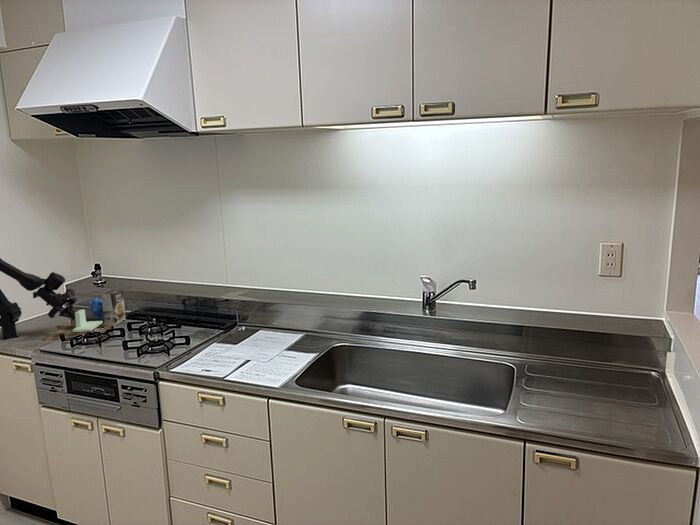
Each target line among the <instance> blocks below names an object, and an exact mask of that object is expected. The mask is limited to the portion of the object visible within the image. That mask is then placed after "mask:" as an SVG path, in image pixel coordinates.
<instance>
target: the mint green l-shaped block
mask: <svg viewBox="0 0 700 525" xmlns="http://www.w3.org/2000/svg"><path fill="white" fill-rule="evenodd" d="M75 319H76V320H75ZM75 319H74V320H75V325H76V328H75V329H73V332H85V331H92V330H93V329H95V328H96V327H98V326H99V325H100V324H102V323H104V320H89V321H87V317H86V309H78V310H77V311H75Z"/></svg>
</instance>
